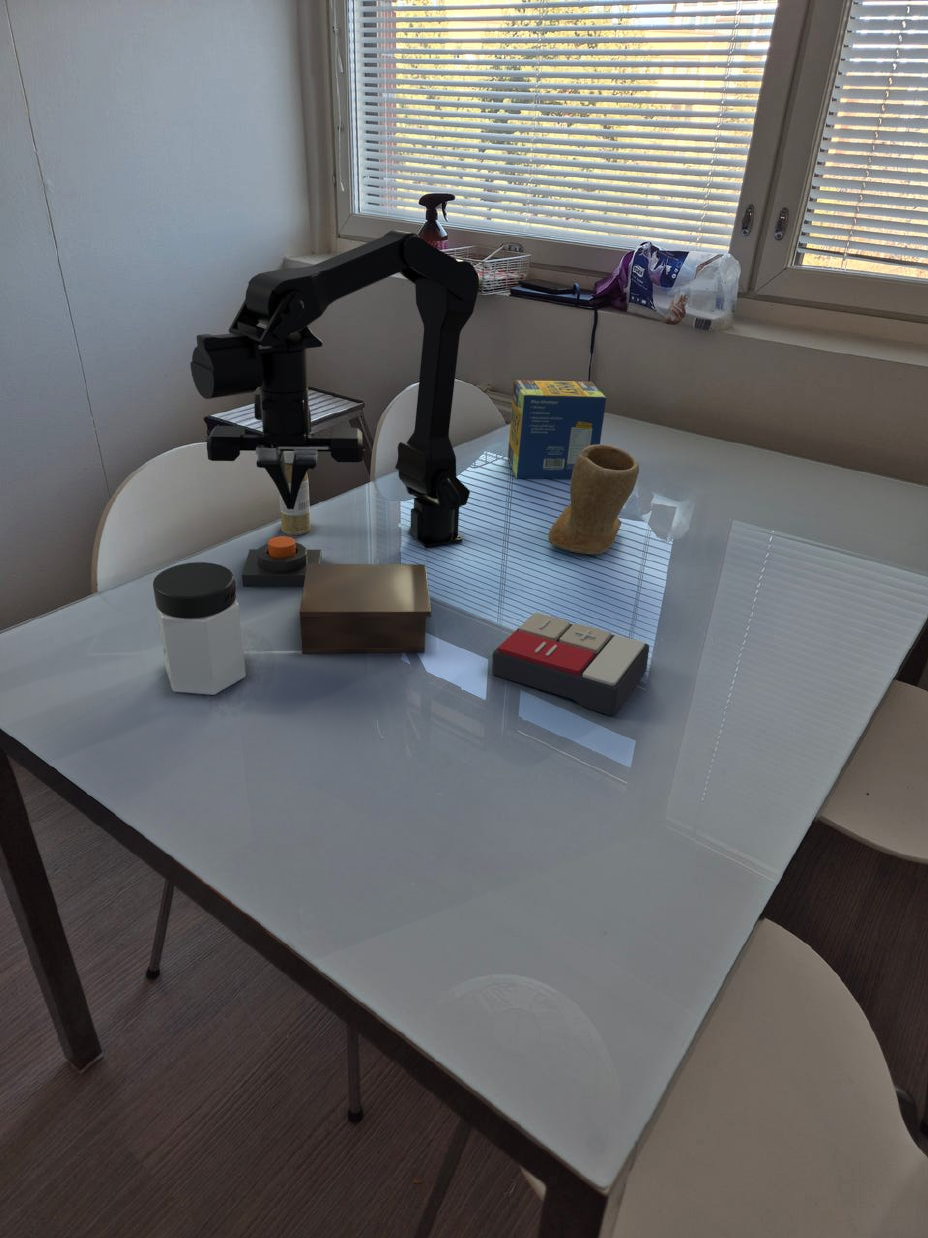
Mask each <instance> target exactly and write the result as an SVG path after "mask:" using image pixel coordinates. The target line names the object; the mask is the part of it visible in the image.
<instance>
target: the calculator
mask: <svg viewBox="0 0 928 1238" xmlns="http://www.w3.org/2000/svg"><path fill="white" fill-rule="evenodd" d="M649 653H650V645H649V644H648V643H645V641H641V640H638V639H634V638H630V637H626V636H622V635H617V634H616V635H615V634H612V632H611V631H609V630H605V629H601V628H597V627H593V626H589V625H585V624H581V623H579V622H578V623H577V622H575V623H571V621H570V620H566V619H562V618H558V617H555V616H551V615H548V614H544V613H539V612H534V613H533V614H532V615H530V617H529V618H528V619H526V620H525V621H524V622H523V623H522V624H521V625H520V626H519V627H518V628H516V630H514V631H513V633H511V634H510V635H509V636H508V637H507V638H506V639H505V640H504V641H503V642H501V644H499V646H497V648H496V649H495V650H493V651H492V666H491V667H492V669H491V670H492V671H491V673H492V675H494V676H496V677H500V678H502V679H505V680H508V681H512V682H516V683H519V684H522V685H525V686H528V687H532V688H535V689H538V690H541V691H544V692H548V693H552V694H554V695H557V696H561V697H564V698H567V699H570V700H574V701H575V702H576V703H577V704H578V705H579V706H580V707H582V708H585V709H587V710H591V711H594V712H598V713H601V714H604V715H607V716H615V715H616V714H617V713H618V712H619V710H620V709H621V707H622V706H623V704H624V703H625V702H626V700H627V699H628V697H629V696H630V695H631V693H632V691H634V689H635V688H636V686H637V685H638V683H639V682H640V681H641V680H642V678H643V677H644V675H645V673H646V672H647V668H648V661H649Z"/></svg>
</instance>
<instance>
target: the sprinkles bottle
mask: <svg viewBox="0 0 928 1238" xmlns="http://www.w3.org/2000/svg"><path fill="white" fill-rule="evenodd" d="M284 458H285V467H286V472H287V478H288V483H289V489H290V491H291V477H292V464H293V459H294V451H284ZM309 484H310V483H309V477H308V471H307V472H306V475H305V477H304V479H303V481H302V483H301V486H300V489H299V492H298V496H297V499H296V503H295V506H294V509H287V507H286V505H285V503H284V501H283V499H282V497H281V495H280V492H279V491H278V497H279V511H280V518H281V519H280V520H281V527H280V528H281V532H283V533H285V534H286V535H289V536H290V535H291V536H302V535H306V534H307V533H309V532H310V531H311V529H312V526H311V520H310V519H311V517H310V510H311V507H310V488H309V487H310V485H309Z"/></svg>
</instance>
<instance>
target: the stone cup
mask: <svg viewBox="0 0 928 1238" xmlns="http://www.w3.org/2000/svg"><path fill="white" fill-rule="evenodd" d="M639 472H640V465H639V463H638V461H637V459H636V458H635V457H634V455H632V454H630V453H629V452H627V451H626V450H624V449H622V448H620V447H617V446H614V445H609V444H605V443H604V444H601V443H600V444H597V445H591V446H588V447H586V448H584V449H583V450H582V451H581V452H580V453H579V455H578V457H577V459H576V462H575V465H574V469H573V472H572V477H571V479H570V481H569V497H570V503H569V504H567V506H566V507H565V508H564V509H563V511H561V513H560V515H559V516H558V517H557V518H556V520H555V522H554V523H553V524H552V525H551V528H550V530H549V532H548V536H547V538H548V541H549V543H550V544H551V545H553V546H554V547H557V548H559V549H561V550H564V551H568V552H572V553H575V554H576V553H577V554H583V555H601V554H603V553H605V552H606V551H608V550H609V548H610V547H612V545H613V544H614V542H615V540H616V538H617V536H618V533H619V531H620V527H621V526H622V520H620V519H619V514H620V512H621V511H622V509H624V506H625V505H626V503H627V501H628V500H629V498H630V497H631V495H632V494H633V491H634V489H635V486H636V484H637V479H638V475H639Z"/></svg>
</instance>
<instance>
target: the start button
mask: <svg viewBox="0 0 928 1238" xmlns="http://www.w3.org/2000/svg"><path fill="white" fill-rule="evenodd" d="M295 543H296V540H295V539H294V537H293V538H292V537H290V536H287V535H286V536H284V535H283V536H282V535H281V536H275V537H272V538H270V539H269V540H268V541H267V544H268V550H269V555H270V556H271V557H275V558H287V557H291V556H294V555H295V553H296V548H295Z"/></svg>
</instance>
